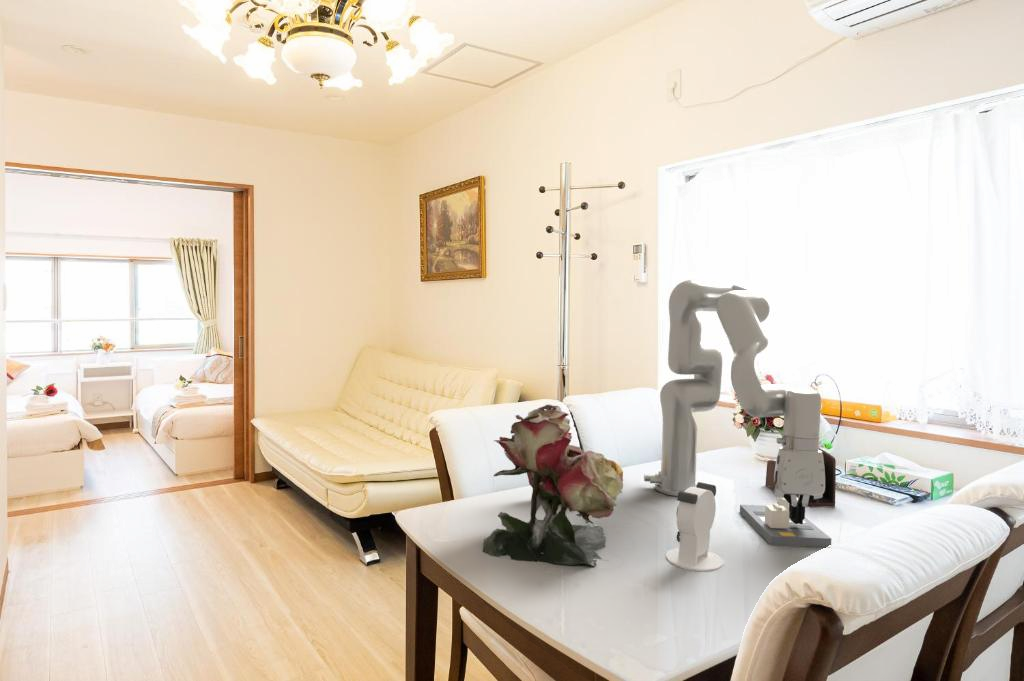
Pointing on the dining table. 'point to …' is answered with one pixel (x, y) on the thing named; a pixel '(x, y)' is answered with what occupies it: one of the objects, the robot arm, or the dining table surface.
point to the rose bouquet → (555, 493)
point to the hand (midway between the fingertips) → (796, 521)
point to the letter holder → (830, 480)
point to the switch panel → (785, 530)
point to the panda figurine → (695, 529)
